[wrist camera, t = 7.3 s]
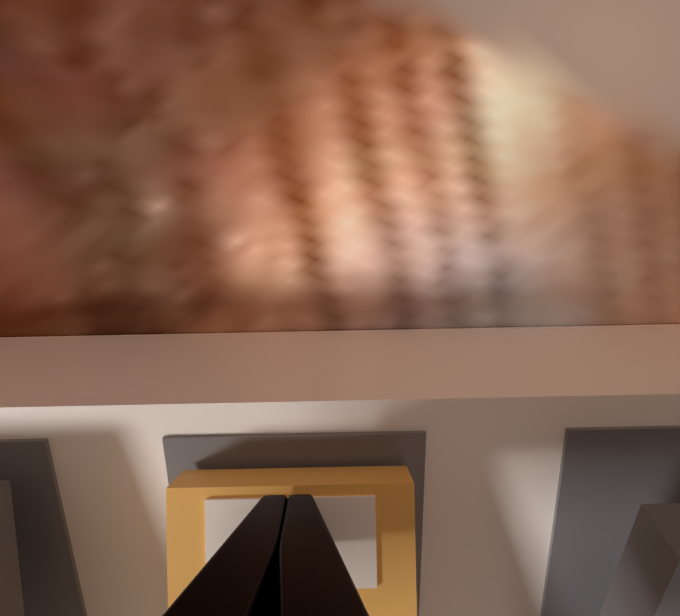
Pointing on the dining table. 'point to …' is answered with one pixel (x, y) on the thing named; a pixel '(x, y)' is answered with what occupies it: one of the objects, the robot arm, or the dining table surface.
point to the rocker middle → (335, 507)
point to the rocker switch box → (346, 450)
